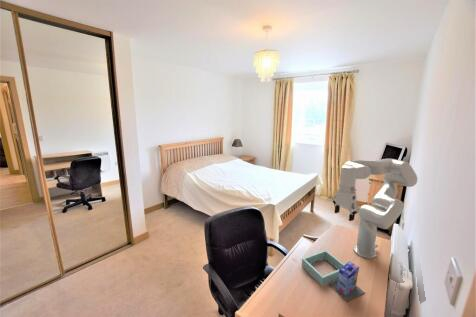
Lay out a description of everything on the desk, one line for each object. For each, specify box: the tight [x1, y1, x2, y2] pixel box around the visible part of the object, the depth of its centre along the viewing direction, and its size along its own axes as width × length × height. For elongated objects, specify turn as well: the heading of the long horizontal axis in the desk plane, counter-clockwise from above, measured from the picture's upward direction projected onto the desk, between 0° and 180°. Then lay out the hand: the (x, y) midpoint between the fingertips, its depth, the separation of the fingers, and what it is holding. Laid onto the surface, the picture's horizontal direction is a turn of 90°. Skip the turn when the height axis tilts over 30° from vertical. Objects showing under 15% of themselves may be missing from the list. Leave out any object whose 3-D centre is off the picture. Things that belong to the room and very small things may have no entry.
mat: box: [328, 280, 366, 303], centre depth 107 cm, size 12×11×1 cm
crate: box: [301, 249, 345, 286], centre depth 119 cm, size 18×16×5 cm
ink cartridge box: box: [337, 261, 360, 295], centre depth 106 cm, size 10×6×14 cm, turn 125°
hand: (343, 216), depth 119 cm, fingers open, 9 cm apart
